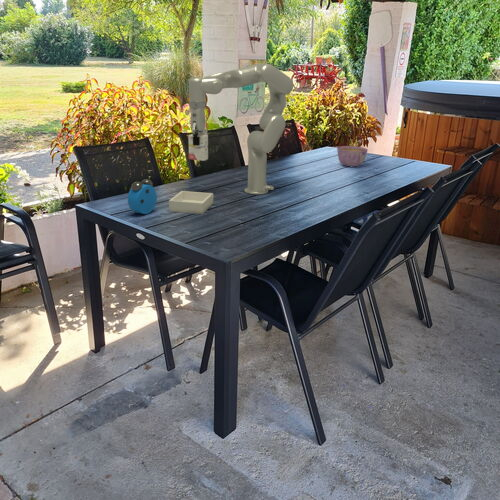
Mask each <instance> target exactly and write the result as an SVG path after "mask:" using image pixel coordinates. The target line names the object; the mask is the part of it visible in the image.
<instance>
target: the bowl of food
mask: <svg viewBox="0 0 500 500" xmlns="http://www.w3.org/2000/svg"><path fill="white" fill-rule="evenodd" d="M336 149H337V157H338V161H339V162H340V164H341V165H346V166H357V167H358V166H361V165H362V164H363V163H364V161H365V159H366V156H367V153H368V151H369V150H368V148H366V147H362V146H356V145H355V146H354V145H353V146H352V145H342V146H338V147H336ZM346 166H345V167H346Z"/></svg>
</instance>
